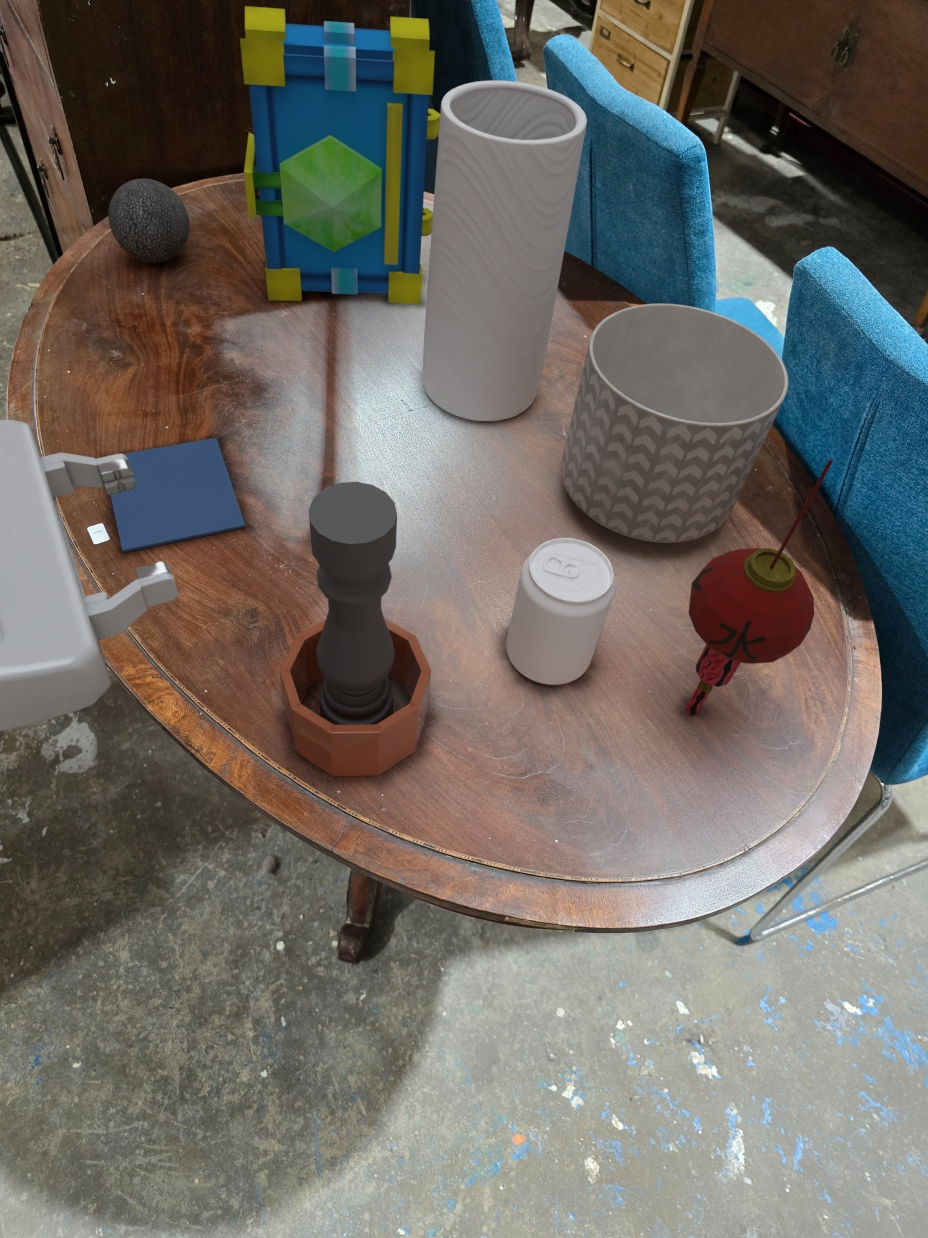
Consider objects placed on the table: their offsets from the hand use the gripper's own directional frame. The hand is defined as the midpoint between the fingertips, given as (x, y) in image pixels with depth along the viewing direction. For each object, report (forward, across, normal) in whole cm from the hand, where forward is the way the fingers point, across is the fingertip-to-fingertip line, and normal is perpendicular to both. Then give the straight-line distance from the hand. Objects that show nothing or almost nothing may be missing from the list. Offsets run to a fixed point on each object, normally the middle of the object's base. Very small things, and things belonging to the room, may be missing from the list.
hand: (151, 521), depth 50 cm
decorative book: (+37, -63, -28) cm, 78 cm away
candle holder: (+12, +1, -28) cm, 30 cm away
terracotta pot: (+12, +1, -28) cm, 30 cm away
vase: (+43, -36, -28) cm, 63 cm away
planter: (+51, -12, -28) cm, 60 cm away
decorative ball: (+15, -77, -28) cm, 83 cm away
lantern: (+40, +13, -28) cm, 50 cm away
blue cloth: (+5, -32, -27) cm, 42 cm away
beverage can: (+31, +2, -28) cm, 42 cm away
